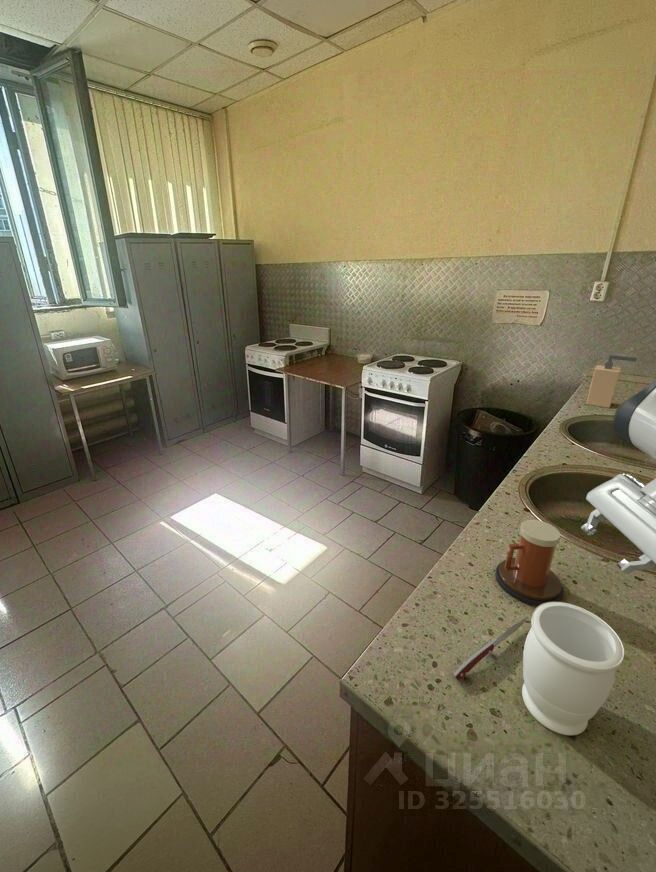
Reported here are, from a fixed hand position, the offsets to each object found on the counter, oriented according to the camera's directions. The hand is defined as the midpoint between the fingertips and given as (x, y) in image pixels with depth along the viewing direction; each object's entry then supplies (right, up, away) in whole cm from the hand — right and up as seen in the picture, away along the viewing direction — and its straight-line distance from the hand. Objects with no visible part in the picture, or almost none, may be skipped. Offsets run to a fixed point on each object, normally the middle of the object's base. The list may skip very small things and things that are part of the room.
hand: (602, 550), depth 73 cm
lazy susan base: (-10, -9, +7) cm, 15 cm away
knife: (-24, -15, -6) cm, 29 cm away
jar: (-19, -18, -15) cm, 30 cm away
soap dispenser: (+81, +30, +103) cm, 135 cm away
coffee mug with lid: (-10, -8, +7) cm, 14 cm away
